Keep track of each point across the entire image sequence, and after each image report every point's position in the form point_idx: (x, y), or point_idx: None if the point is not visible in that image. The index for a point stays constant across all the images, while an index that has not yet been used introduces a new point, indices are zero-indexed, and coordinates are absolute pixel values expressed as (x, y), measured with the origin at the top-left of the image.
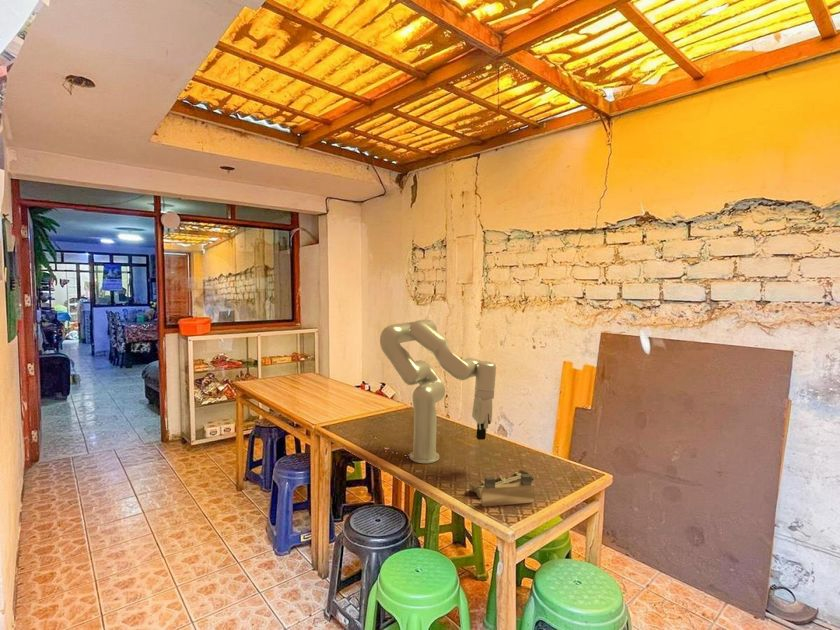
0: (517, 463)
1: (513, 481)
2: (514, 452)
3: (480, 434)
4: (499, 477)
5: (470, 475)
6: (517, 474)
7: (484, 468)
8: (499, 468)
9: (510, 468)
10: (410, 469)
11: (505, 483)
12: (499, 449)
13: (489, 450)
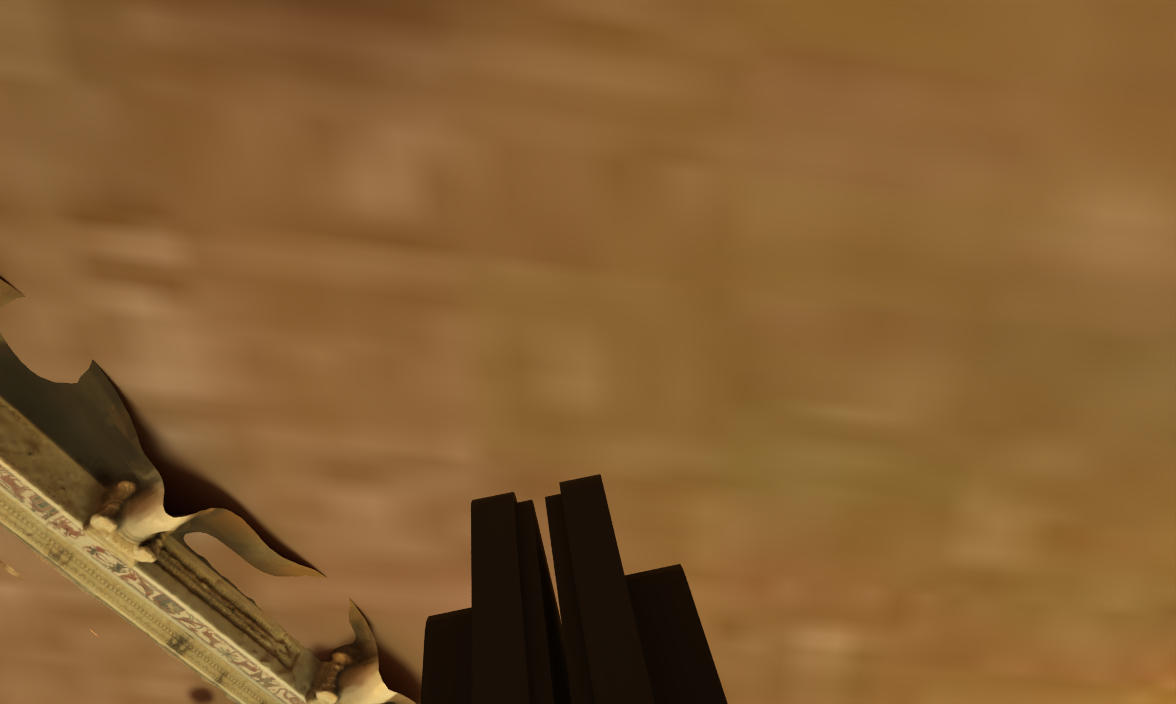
0: None
1: (159, 627)
2: (1006, 697)
3: (423, 699)
4: (149, 502)
5: (306, 91)
6: (319, 695)
7: (576, 332)
8: None
9: None
10: None
11: (26, 544)
12: (1125, 567)
13: (1128, 457)
